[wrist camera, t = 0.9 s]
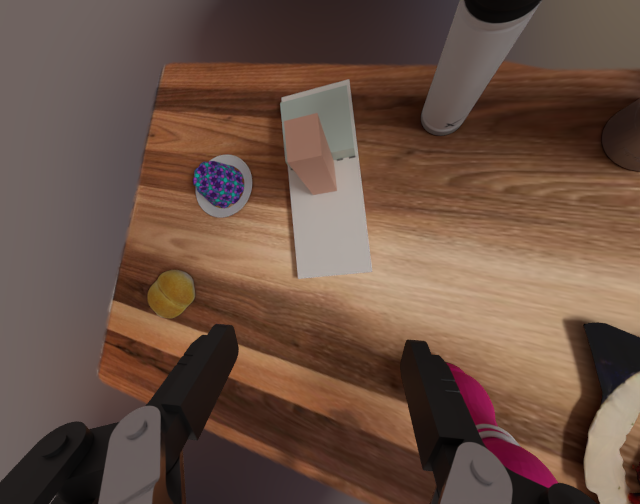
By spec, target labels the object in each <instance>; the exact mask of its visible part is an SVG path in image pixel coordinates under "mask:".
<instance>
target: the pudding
mask: <svg viewBox="0 0 640 504" xmlns="http://www.w3.org/2000/svg"><path fill="white" fill-rule="evenodd" d="M230 165H232V166H234V167H236V168H237V169H239V170H240V172H241V173H242V174H241V173H240V172H239V171H236V170H235V169H234V167H232V166H230ZM242 175H243V177H244V183H245V186H244V184H243V183H242V178H243V177H242ZM193 184H194V186H195V187H196V197H197V201H198V203H199V205H200V206H201V208H202V209H203V210H204V211H205V212H206V213H208V214H209V215H211V216H214V217H228V216H231V215H233V214H235V213H236V212H238V211H239V210H240V209H241V208H242V207H243V206H244V205H245V204H246V202H247V200H248V199H249V196H250V194H251V189H252V176H251V172H250V170H249V168H248V166H247V165H246V163H245V162H244V161H243V160H242V159H240V158H238V157H236V156H233V155H221V156H217V157H215V158H213V159H212V160H210V161H209V162H202V163H201V164H200V166H199V167H198V168H196V170H195V171H194V178H193ZM243 189H244V192H243ZM242 192H243V194H242V196H241V198H240V200H239V194H241V193H242ZM238 200H239V201H238ZM237 201H238V202H237ZM236 202H237V203H236ZM235 203H236V204H235ZM212 204H213V205H215V206H216V205H219V206H220V207H221V208H225V209H221V208H217V207H215V206H213V205H212ZM230 204H235V205H233V206H231V207H229V208H226V207H228V206H229V205H230Z"/></svg>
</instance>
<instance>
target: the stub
mask: <svg viewBox="0 0 640 504" xmlns="http://www.w3.org/2000/svg"><path fill="white" fill-rule="evenodd" d="M284 128H285V139H286V150H287V161H288V164H289V165H290V166H291V168H292V169H293V170H294V171H295V173H296V174H297V175H298V176H299V178H300V179H301V180H302V181H303V183H304V184H305V185H306V187H307V188H308V189H309V190H310V192H311V193H312V194H313V195H316V194H322V193H328V192H334V191H337V185H336V176H335V167H334V160H333V157H332V154H331V151H330V148H329V146H328V143H327V140H326V137H325V134H324V131H323V128H322V125H321V122H320V119H319V116H318V113H315V114H311V115H307V116H303V117H299V118H295V119H291V120H287V121H284Z"/></svg>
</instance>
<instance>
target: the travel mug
mask: <svg viewBox="0 0 640 504" xmlns="http://www.w3.org/2000/svg"><path fill="white" fill-rule="evenodd" d="M541 2H542V0H460V2H459V4H458V7H457V10H456V13H455V16H454V19H453V22H452V25H451V28H450V31H449V34H448V37H447V40H446V43H445V46H444V49H443V52H442V54H441V58H440V61H439V63H438V66H437V69H436V72H435V75H434V78H433V81H432V84H431V87H430V90H429V93H428V96H427V99H426V102H425V104H424V107H423V110H422V114H421V123H422V125H423V127H424V128H425V130H426V131H428V132H429V133H431V134H434V135H439V136H442V135H448V134H450V133H453V132H454V131H456V130H457V129H458V128H459V127H460V126H461V125H462V123H463V122H464V120H465V119H466V117H467V115H468V114H469V112H470V111H471V109H472V108H473V106H474V105H475V103H476V102H477V100H478V99H479V97H480V96H481V94H482V92H483V91H484V89H485V88H486V86H487V85H488V83H489V82H490V80H491V79H492V77H493V76H494V74H495V72H496V71H497V69H498V68H499V66H500V65H501V63H502V62H503V60H504V59H505V57H506V56H507V54H508V52H509V51H510V49H511V47H512V46H513V45H514V43H515V41H516V40H517V39H518V37H519V36H520V34H521V32H522V31H523V29H524V28H525V26H526V25H527V23H528V22H529V20H530V19H531V17H532V15H533V14H534V12H535V11H536V9H537V7H538V6H539V5H540V3H541Z"/></svg>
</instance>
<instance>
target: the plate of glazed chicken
mask: <svg viewBox="0 0 640 504" xmlns="http://www.w3.org/2000/svg"><path fill="white" fill-rule="evenodd" d="M584 328H585V331H586V334H587V337H588V341H589V344H590V347H591V351H592V354H593V358H594V362H595V366H596V370H597V374H598V377H599V381H600V384H601V388H602V392H603V395H602V402H601V407H600V409H599V410H598V411H597V413H596V415H595V417H594V420H593V421H592V423H591V425H590V428H589V431H588V440H587V445H586V452H585V456H584V460H583V462H584V472H585V483H586V486H587V488H588V489H589V491H592V492H594V493H596V494H597V495H598V499H599V502H600V504H640V493H629V492H630V488H629V487H628V486H627V485H626V482H625V470H624V469H623V467H622V463H623V459H622V457H621V455H620V452H619V448H620V447H621V446H622V445H623V443H624V442H625V440H626V435H627V434H628V433H629V432H630V430H631V428H632V426H633V425H634V423H635V421H636V419H637V417H638V414H639V413H640V337H637V336H635V335H632V334H630V333H627V332H625V331H623V330H620V329H618V328H615V327H613V326H611V325H608V324H605V323H587V324H584ZM632 468H633V469H634V465H632ZM636 471H637V479H638V482H639V483H640V462H639V466H637V468H636Z"/></svg>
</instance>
